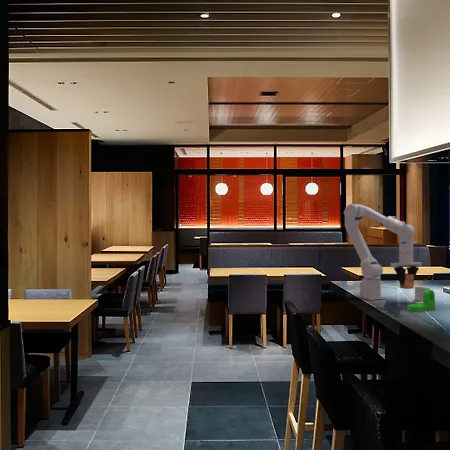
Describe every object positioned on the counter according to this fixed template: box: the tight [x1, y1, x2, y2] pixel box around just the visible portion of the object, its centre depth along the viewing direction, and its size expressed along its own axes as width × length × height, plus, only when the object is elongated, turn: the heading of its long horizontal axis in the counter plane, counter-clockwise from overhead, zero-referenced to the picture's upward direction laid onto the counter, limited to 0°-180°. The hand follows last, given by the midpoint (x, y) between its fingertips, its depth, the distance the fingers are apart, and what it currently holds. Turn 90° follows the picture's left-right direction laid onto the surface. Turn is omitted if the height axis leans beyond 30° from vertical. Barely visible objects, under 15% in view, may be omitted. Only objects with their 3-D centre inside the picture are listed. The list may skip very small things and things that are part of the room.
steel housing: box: [413, 286, 431, 302], centre depth 223 cm, size 7×4×6 cm, turn 19°
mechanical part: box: [407, 289, 436, 313], centre depth 204 cm, size 12×6×8 cm, turn 130°
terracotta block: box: [399, 273, 415, 290], centre depth 220 cm, size 4×4×6 cm
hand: (406, 283), depth 220 cm, fingers closed on terracotta block, 4 cm apart
